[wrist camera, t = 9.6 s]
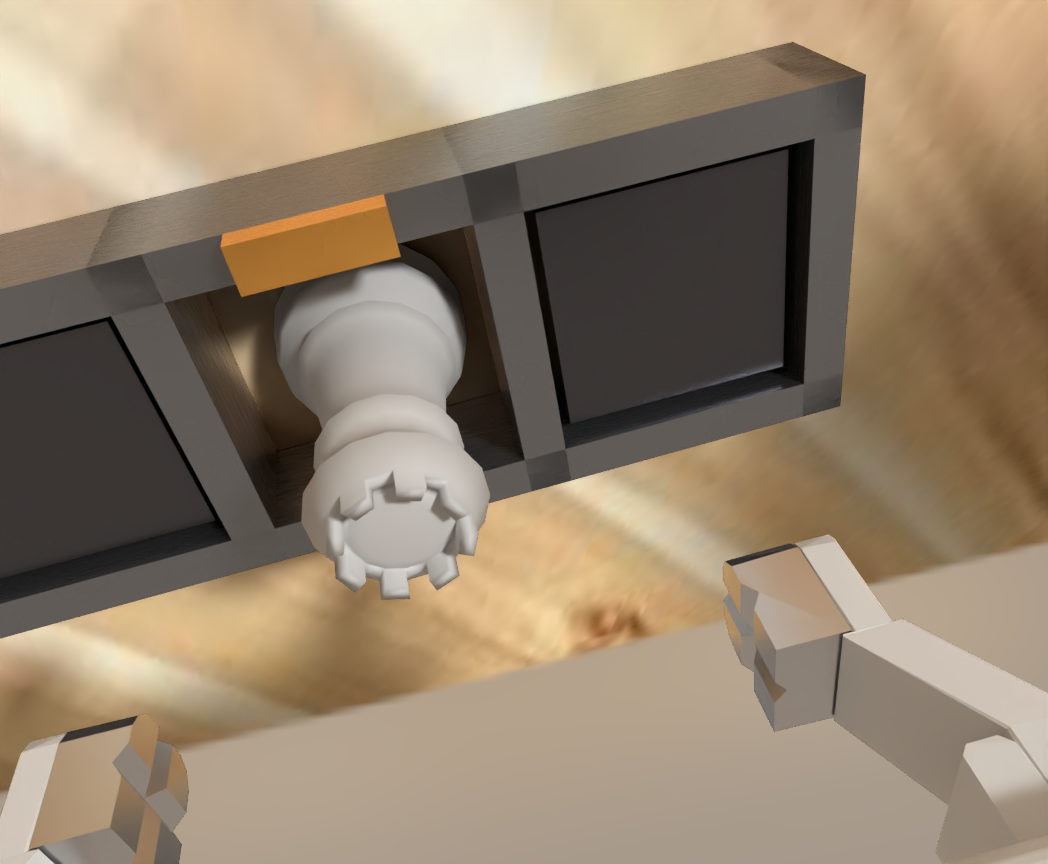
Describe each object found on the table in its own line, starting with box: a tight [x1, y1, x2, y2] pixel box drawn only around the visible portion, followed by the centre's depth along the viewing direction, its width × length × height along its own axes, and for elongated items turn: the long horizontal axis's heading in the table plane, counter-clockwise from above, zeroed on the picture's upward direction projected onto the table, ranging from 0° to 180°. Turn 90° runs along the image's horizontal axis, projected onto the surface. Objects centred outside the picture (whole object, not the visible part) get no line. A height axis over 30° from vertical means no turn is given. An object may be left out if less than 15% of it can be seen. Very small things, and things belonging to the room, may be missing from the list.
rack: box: [0, 42, 866, 638], centre depth 19 cm, size 22×8×4 cm, turn 100°
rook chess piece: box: [274, 244, 490, 600], centre depth 17 cm, size 4×4×8 cm
